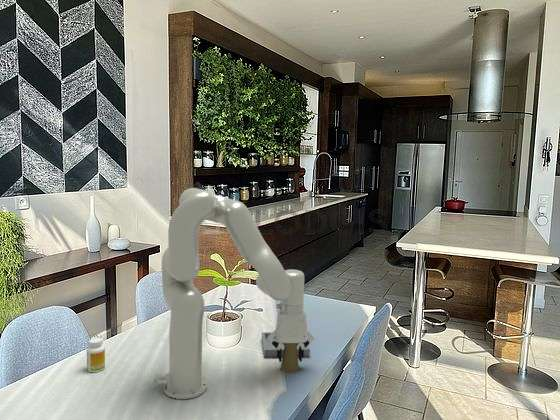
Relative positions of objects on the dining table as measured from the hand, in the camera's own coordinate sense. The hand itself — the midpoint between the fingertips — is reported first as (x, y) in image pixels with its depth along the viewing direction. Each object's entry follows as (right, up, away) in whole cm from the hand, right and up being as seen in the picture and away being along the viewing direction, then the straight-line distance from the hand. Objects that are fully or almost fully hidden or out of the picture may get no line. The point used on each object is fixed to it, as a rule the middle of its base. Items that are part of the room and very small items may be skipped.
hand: (290, 359), depth 148 cm
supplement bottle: (-63, -2, -4) cm, 63 cm away
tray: (-2, -1, +16) cm, 16 cm away
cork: (0, -3, 0) cm, 3 cm away
